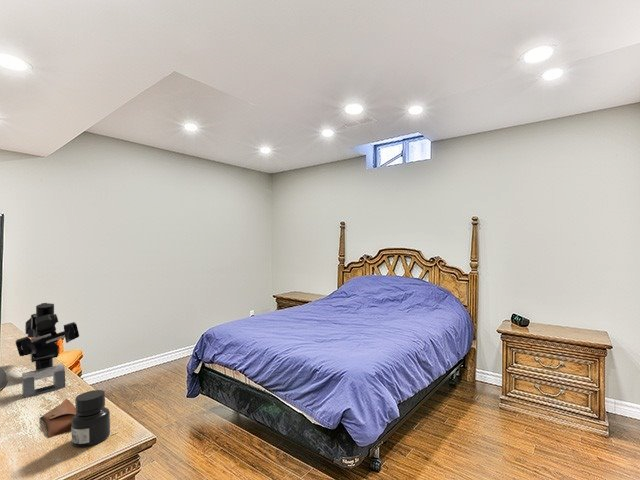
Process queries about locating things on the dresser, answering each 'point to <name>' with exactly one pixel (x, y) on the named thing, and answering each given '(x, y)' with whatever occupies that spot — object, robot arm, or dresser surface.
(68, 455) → the dresser surface
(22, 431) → the dresser surface
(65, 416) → the sunglasses case
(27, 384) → the standards
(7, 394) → the dresser surface
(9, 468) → the dresser surface
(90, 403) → the ink bottle
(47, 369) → the rail
